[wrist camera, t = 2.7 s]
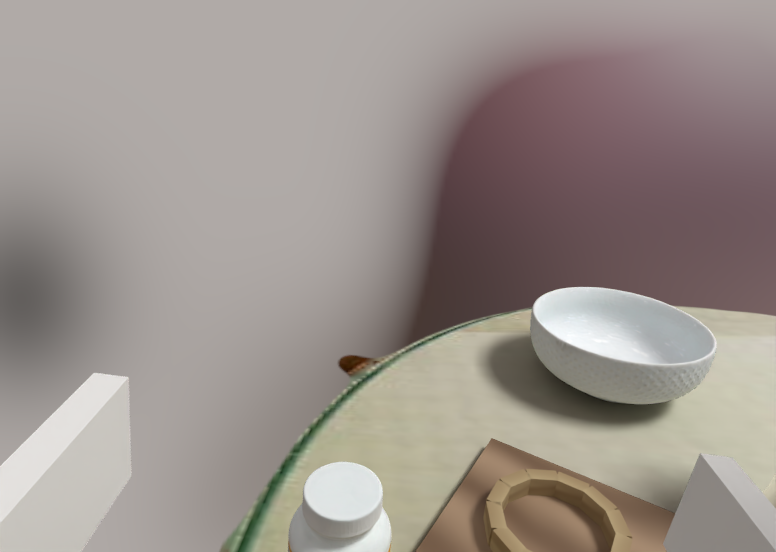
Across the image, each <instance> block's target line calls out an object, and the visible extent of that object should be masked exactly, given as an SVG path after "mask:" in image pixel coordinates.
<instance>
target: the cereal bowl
mask: <svg viewBox="0 0 776 552" xmlns="http://www.w3.org/2000/svg"><path fill="white" fill-rule="evenodd" d="M530 330H531V339H532V344H533V348H534V349H535V352H536V354H537V355H538V358H539V359H540V361H541V362H542V363H543V364H544V365H545V367H546V368H547V369H549V370H550V372H551V373H553V374H554V375H555V376H556V377H558V378H559V379H560V380H562V381H564V382H565V383H567V384H569V385H570V386H572V387H574V388H576V389H578V390H580V391H582V392H585V393H587V394H589V395H591V396H593V397H596V398H598V399H601V400H605V401H609V402H615V403H628V404H654V403H661V402H666V401H671V400H673V399H676V398H679V397H681V396H683V395H685V394H686V393H689V392H690V391H692V390H693V389H695V388H696V387H697V386H698V385H699V384H700V383H701V381H702V380H703V379H704V378H705V376H706V374H707V373H708V371H709V368H710V367H711V364H712V361H713V359H714V356H715V353H716V347H717V344H716V339H715V337H714V335H713V334H712V332H711V331H710V330H709V329H708V328H707V327H706V326H705V325H704V324H702V323H701V322H700V321H698V320H697V319H695V318H694V317H692V316H691V315H689V314H687V313H685V312H683V311H681V310H679V309H677V308H675V307H673V306H671V305H668V304H666V303H663V302H661V301H658V300H655V299H652V298H649V297H645V296H642V295H638V294H634V293H629V292H624V291H619V290H613V289H605V288H595V287H574V288H564V289H559V290H555V291H552V292H549V293H546V294H544V295H543V296H541V297H539V298H538V299H537V300H536V302H535V303H534V305H533V308H532V313H531V326H530Z"/></svg>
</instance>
